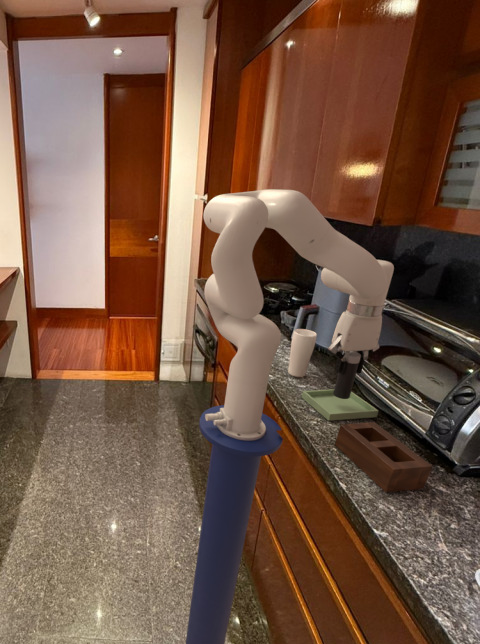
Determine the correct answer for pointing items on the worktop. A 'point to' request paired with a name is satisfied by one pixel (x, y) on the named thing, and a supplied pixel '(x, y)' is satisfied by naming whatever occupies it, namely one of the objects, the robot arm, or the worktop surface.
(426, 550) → the worktop surface
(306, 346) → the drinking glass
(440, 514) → the worktop surface
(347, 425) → the holder
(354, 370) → the tool handle
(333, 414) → the tray
